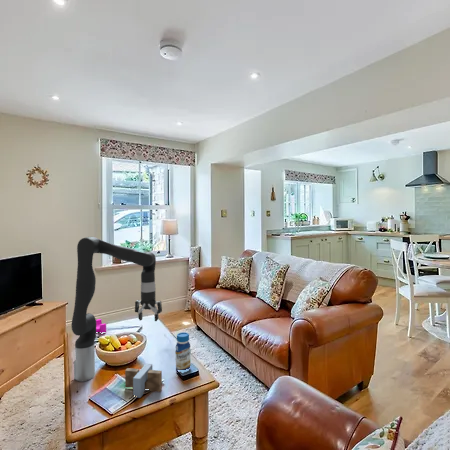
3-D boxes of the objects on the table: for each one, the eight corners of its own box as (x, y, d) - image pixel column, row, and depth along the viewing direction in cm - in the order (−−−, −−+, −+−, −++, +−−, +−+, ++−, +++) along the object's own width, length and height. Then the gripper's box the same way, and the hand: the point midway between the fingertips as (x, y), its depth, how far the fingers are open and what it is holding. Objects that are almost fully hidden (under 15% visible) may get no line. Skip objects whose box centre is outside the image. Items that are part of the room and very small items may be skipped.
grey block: (133, 397, 136) (133, 378, 135) (146, 380, 149) (146, 363, 149) (140, 397, 135) (140, 378, 135) (152, 381, 149) (152, 364, 149)
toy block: (92, 330, 221) (91, 320, 221) (100, 328, 225) (100, 318, 225) (97, 336, 209) (97, 326, 209) (106, 334, 213) (106, 324, 213)
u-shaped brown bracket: (125, 388, 142) (125, 370, 142) (127, 385, 145) (127, 368, 145) (159, 391, 139) (159, 373, 139) (161, 388, 142) (161, 370, 142)
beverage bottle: (190, 365, 164) (190, 331, 164) (191, 373, 156) (190, 336, 156) (175, 367, 163) (175, 332, 163) (175, 374, 155) (174, 337, 155)
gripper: (132, 291, 150) (132, 322, 150) (158, 292, 148) (158, 323, 148) (138, 288, 158) (139, 317, 158) (163, 288, 155) (163, 318, 155)
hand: (148, 320), depth 153 cm, fingers open, 8 cm apart
